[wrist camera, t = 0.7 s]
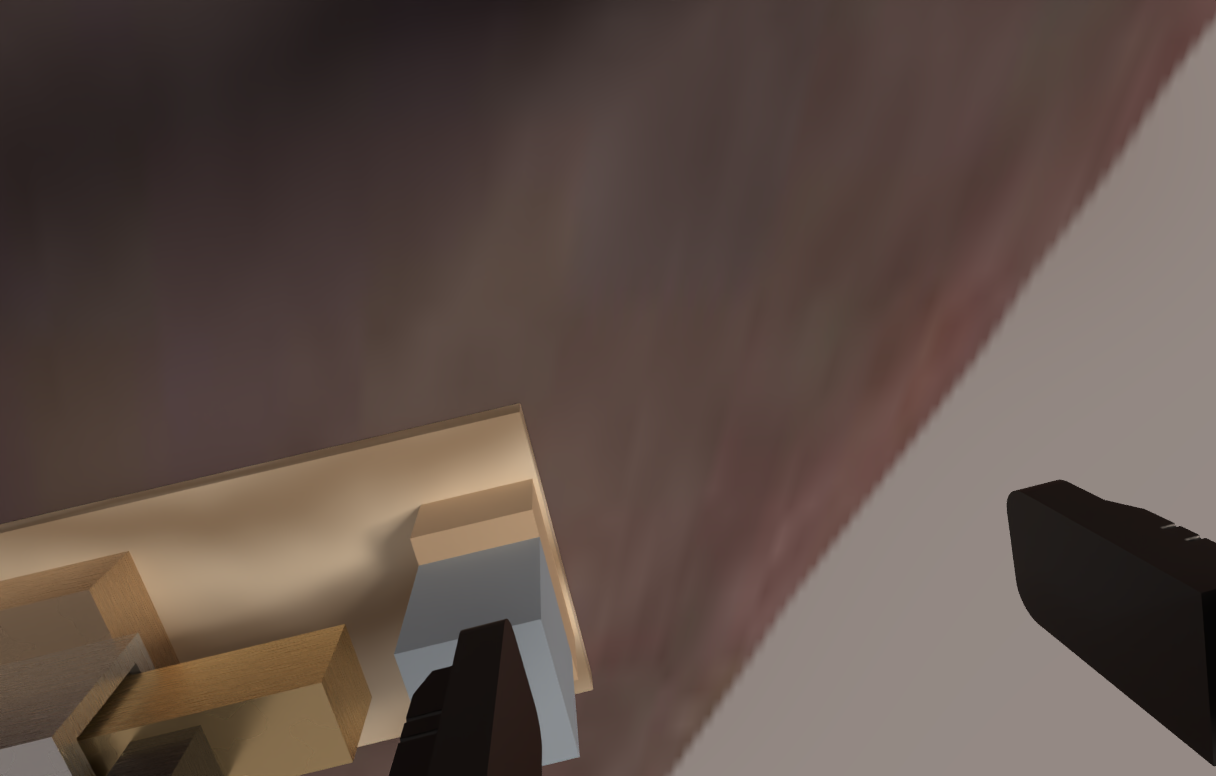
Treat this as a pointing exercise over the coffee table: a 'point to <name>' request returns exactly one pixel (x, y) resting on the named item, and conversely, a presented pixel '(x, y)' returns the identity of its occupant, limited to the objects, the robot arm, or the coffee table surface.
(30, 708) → the grey and tan block
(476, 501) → the slate-blue socket
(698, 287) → the coffee table surface
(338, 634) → the multicoloured piece
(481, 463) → the birch board
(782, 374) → the coffee table surface
